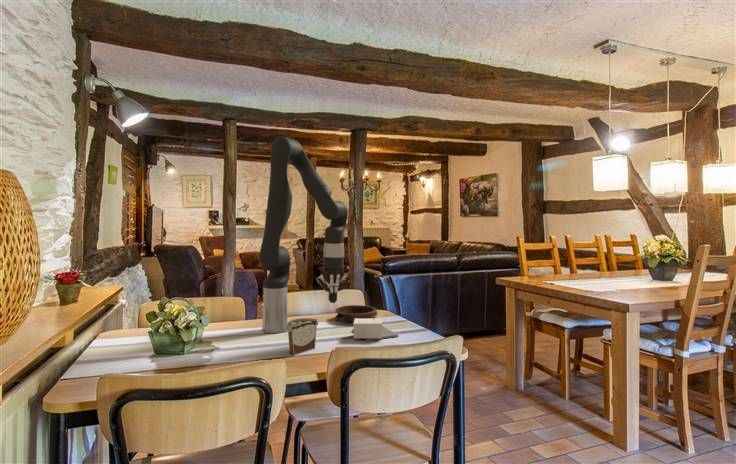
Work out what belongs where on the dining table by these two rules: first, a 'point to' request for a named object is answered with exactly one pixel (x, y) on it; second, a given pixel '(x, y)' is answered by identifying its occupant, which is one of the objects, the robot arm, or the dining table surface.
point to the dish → (354, 313)
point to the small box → (368, 328)
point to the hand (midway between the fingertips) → (332, 302)
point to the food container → (301, 335)
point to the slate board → (383, 334)
